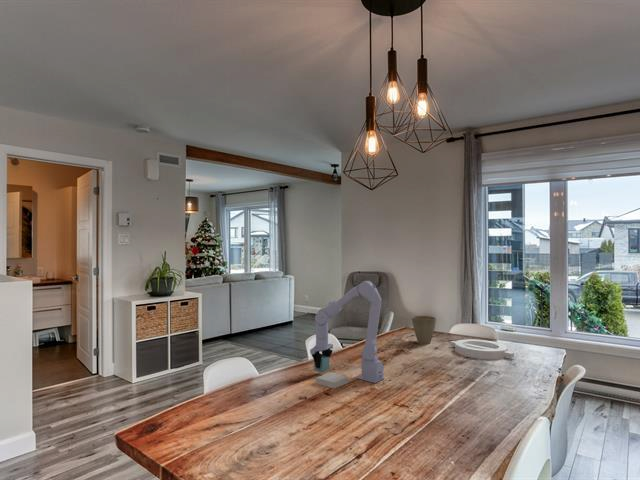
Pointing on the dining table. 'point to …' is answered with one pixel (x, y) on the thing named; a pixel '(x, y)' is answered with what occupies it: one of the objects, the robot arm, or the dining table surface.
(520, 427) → the dining table surface
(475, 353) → the white circle with bar
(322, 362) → the teal block
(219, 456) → the dining table surface
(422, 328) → the plant pot
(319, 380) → the plinth
